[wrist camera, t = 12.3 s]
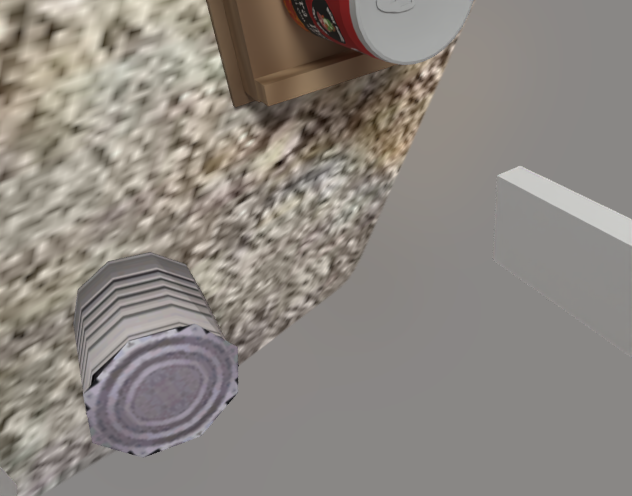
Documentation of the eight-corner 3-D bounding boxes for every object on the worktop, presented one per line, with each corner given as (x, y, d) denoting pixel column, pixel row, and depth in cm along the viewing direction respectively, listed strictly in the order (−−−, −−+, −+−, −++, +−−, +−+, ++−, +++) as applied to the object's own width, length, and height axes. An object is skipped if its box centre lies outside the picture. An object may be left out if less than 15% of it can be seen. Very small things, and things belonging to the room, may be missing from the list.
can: (55, 268, 42) (66, 364, 33) (194, 238, 47) (238, 315, 37) (87, 372, 48) (103, 477, 39) (207, 336, 53) (248, 424, 43)
